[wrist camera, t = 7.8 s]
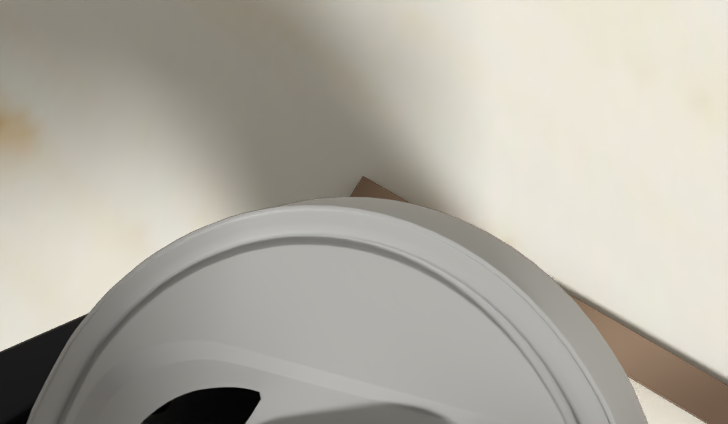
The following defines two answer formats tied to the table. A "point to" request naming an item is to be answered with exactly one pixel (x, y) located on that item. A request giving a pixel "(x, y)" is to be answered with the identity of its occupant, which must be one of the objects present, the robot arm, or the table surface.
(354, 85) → the table surface
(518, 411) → the beverage can
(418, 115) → the table surface
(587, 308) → the brown divided frame
